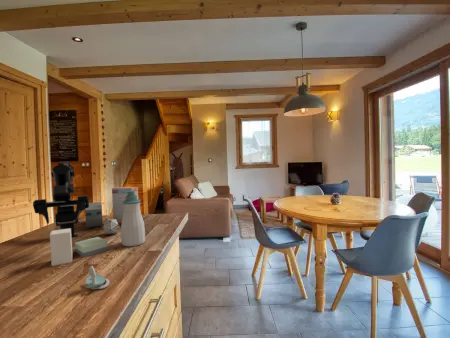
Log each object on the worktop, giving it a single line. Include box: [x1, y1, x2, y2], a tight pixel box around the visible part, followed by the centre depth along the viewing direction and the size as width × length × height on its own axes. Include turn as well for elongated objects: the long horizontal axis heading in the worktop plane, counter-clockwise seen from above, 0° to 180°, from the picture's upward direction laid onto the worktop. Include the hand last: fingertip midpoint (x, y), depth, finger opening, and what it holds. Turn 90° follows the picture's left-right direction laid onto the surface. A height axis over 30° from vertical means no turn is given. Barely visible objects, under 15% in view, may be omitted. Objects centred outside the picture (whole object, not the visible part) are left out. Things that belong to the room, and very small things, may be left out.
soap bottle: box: [120, 191, 146, 247], centre depth 108 cm, size 10×10×23 cm
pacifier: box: [85, 265, 110, 290], centre depth 72 cm, size 7×6×6 cm
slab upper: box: [74, 236, 109, 253], centre depth 100 cm, size 9×9×2 cm
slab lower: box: [74, 246, 109, 258], centre depth 100 cm, size 9×9×2 cm
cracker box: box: [111, 186, 139, 225], centre depth 143 cm, size 14×6×21 cm, turn 71°
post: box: [49, 228, 73, 267], centre depth 90 cm, size 6×6×11 cm
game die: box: [100, 218, 121, 237], centre depth 122 cm, size 9×8×10 cm
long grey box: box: [84, 201, 104, 229], centre depth 143 cm, size 25×8×11 cm, turn 27°
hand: (62, 221), depth 96 cm, fingers open, 9 cm apart
